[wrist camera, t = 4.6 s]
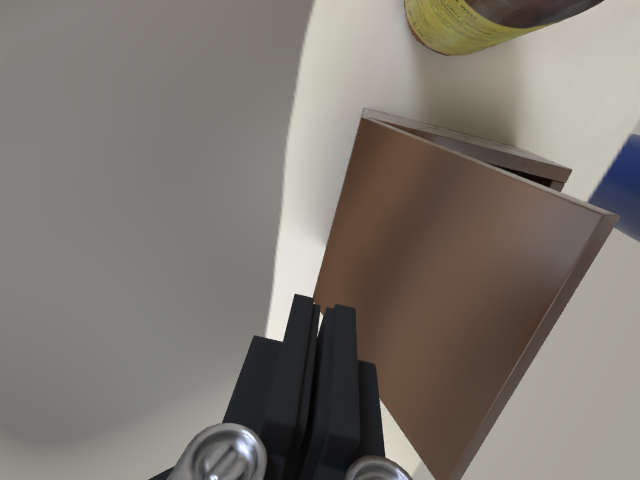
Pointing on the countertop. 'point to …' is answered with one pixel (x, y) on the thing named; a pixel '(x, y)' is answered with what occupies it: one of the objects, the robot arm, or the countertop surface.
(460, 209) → the hatch
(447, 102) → the countertop surface
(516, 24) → the sauce bottle
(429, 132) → the walnut box
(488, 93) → the countertop surface
